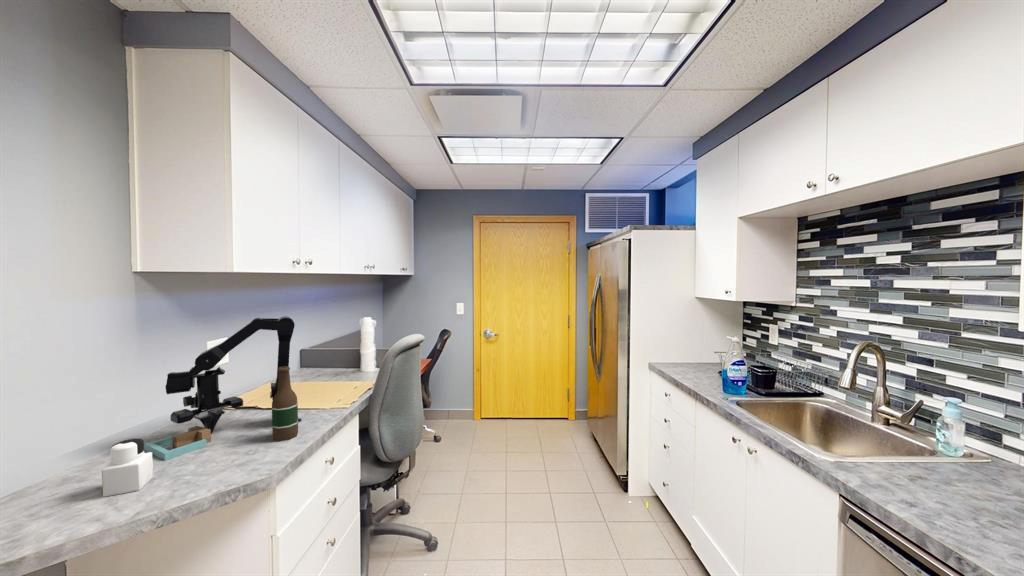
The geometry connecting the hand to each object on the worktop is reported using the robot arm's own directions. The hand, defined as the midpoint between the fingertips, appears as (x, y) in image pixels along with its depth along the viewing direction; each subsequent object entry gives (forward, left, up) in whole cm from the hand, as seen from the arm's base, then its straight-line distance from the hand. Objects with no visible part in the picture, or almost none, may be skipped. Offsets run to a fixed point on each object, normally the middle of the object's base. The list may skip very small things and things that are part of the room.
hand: (209, 433), depth 127 cm
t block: (-1, +6, -1) cm, 6 cm away
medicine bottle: (-17, +25, -1) cm, 30 cm away
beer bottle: (-23, -12, -1) cm, 26 cm away
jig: (0, +9, -1) cm, 9 cm away
